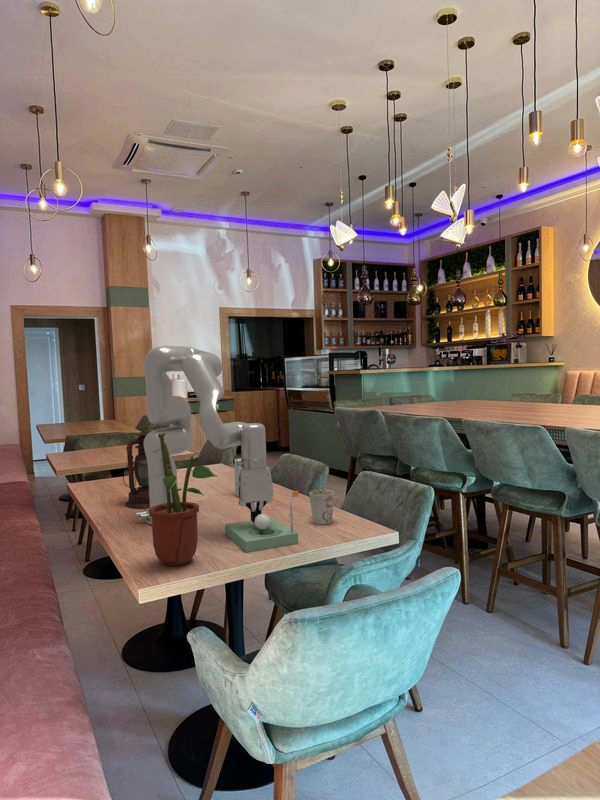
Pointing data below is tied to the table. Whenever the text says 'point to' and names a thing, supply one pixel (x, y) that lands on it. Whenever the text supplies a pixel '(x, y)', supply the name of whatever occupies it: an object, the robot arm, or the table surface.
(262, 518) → the ball
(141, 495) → the lantern
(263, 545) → the putting mat
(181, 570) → the table surface
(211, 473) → the potted plant
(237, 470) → the skincare box
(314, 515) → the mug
